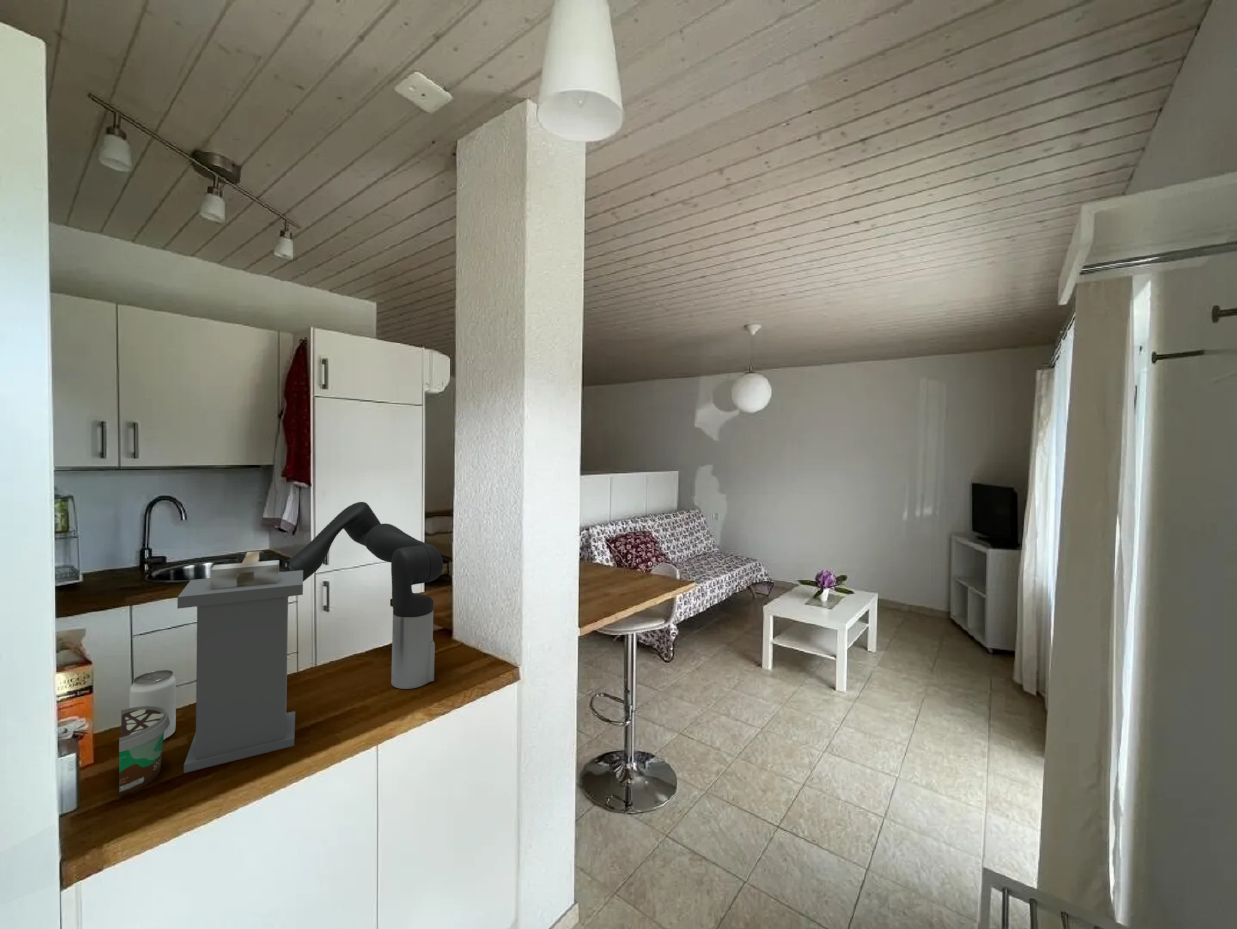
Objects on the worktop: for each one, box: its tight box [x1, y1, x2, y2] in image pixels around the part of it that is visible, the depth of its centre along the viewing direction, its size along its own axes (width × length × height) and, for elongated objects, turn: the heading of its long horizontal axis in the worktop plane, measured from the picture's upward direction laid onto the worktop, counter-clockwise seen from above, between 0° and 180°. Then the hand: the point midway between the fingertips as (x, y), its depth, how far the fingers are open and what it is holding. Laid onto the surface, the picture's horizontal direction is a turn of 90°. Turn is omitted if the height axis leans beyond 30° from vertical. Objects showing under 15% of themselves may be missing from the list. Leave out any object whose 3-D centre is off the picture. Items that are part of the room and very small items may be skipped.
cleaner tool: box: [210, 550, 279, 589], centre depth 99 cm, size 10×20×4 cm, turn 33°
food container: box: [118, 706, 170, 797], centre depth 85 cm, size 12×6×10 cm, turn 44°
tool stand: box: [176, 570, 304, 774], centre depth 94 cm, size 18×12×31 cm, turn 123°
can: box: [129, 669, 177, 741], centre depth 95 cm, size 6×6×12 cm
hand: (251, 556), depth 102 cm, fingers closed on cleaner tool, 2 cm apart
